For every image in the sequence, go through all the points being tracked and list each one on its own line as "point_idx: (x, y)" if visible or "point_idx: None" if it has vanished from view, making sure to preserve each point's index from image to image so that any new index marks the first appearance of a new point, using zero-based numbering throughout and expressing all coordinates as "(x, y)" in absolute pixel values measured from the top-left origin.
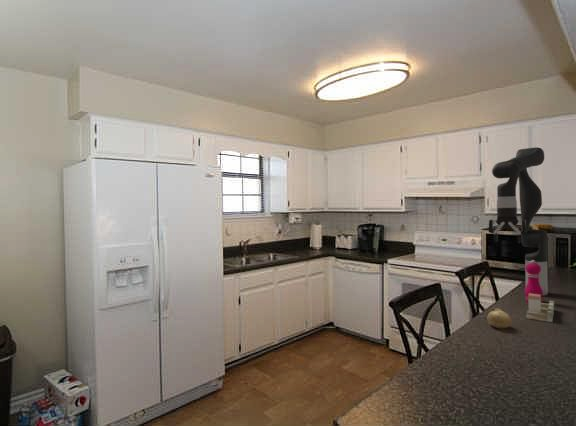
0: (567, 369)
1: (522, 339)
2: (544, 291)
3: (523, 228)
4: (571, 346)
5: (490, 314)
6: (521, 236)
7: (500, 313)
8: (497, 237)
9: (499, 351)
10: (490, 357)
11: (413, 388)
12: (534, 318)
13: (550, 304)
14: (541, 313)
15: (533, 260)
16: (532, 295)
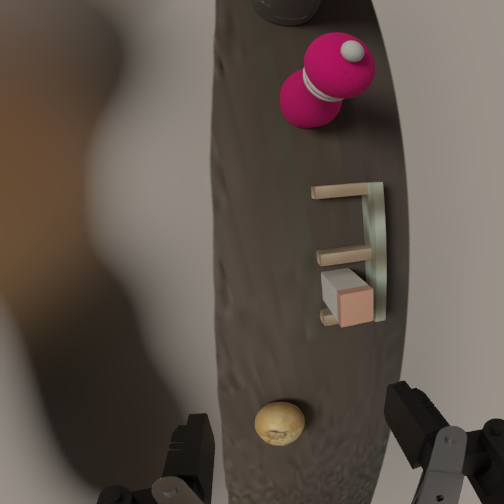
0: (376, 474)
1: (326, 439)
2: (315, 10)
3: (487, 495)
4: None
5: (265, 441)
6: (440, 424)
7: (288, 443)
8: (203, 453)
9: (302, 485)
10: (296, 500)
11: None
12: None
13: (379, 235)
14: None
15: (358, 51)
16: (352, 319)
